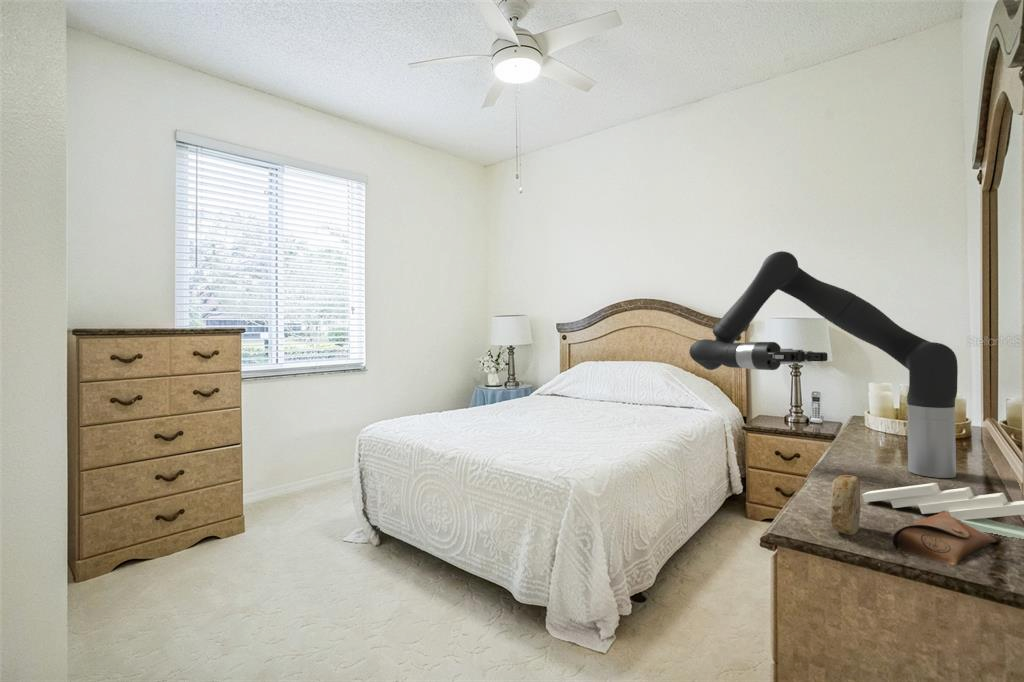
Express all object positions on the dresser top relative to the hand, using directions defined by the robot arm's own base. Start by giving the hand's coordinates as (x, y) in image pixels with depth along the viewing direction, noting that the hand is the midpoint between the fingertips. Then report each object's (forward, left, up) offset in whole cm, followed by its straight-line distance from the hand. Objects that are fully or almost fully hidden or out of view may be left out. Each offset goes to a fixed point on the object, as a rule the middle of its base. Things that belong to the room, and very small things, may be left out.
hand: (825, 356), depth 120 cm
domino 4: (+9, +26, -29) cm, 40 cm away
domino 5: (+9, +28, -30) cm, 42 cm away
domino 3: (+8, +22, -29) cm, 37 cm away
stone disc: (+31, +18, -30) cm, 47 cm away
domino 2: (+9, +17, -29) cm, 35 cm away
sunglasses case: (+23, +30, -31) cm, 49 cm away
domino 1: (+9, +12, -29) cm, 33 cm away
